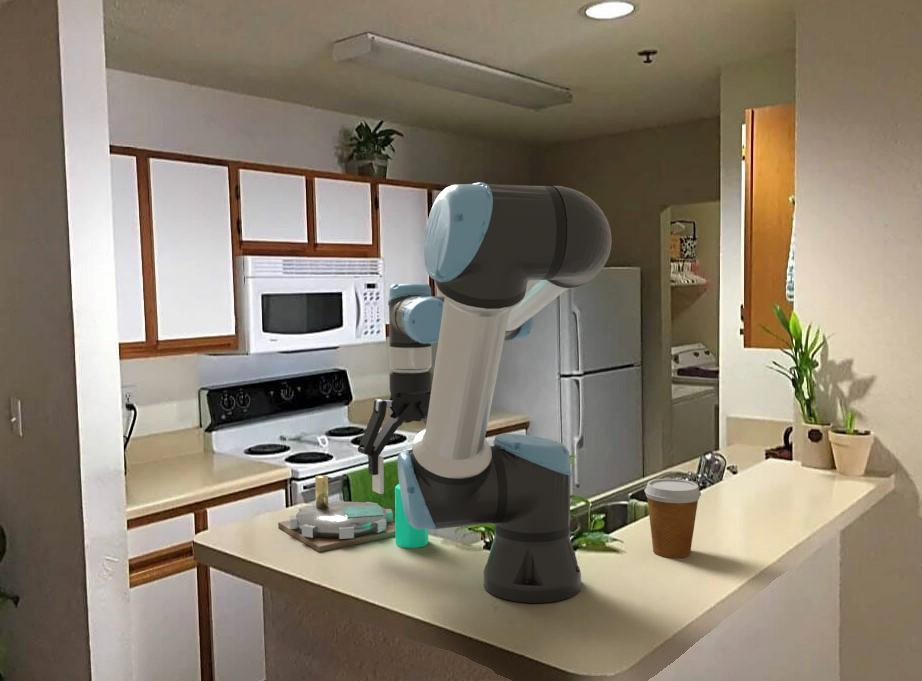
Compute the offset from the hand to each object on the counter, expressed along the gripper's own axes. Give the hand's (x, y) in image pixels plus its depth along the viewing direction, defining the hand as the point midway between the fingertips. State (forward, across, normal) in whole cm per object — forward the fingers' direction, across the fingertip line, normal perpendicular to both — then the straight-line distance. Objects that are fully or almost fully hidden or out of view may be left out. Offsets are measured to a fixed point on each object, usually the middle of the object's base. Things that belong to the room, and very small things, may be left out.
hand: (410, 486), depth 151 cm
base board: (+10, +7, -13) cm, 18 cm away
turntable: (+9, +7, -13) cm, 18 cm away
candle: (+10, 0, +1) cm, 10 cm away
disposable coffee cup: (+10, -34, +32) cm, 47 cm away
